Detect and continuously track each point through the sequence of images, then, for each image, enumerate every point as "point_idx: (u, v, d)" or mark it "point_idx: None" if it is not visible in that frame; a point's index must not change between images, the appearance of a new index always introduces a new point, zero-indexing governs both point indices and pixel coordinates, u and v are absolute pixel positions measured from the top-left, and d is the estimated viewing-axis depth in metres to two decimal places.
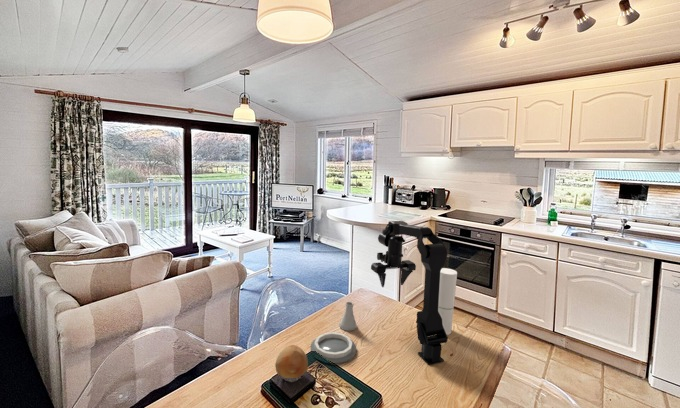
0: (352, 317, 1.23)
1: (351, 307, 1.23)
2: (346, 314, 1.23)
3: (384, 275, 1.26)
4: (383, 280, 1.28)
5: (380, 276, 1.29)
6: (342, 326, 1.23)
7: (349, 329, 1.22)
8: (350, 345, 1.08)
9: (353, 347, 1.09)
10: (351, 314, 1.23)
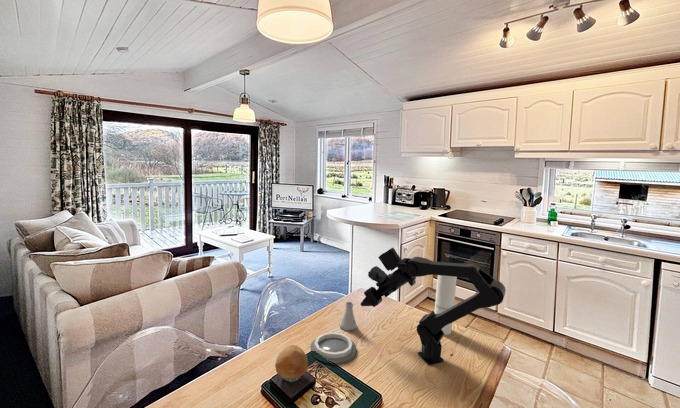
0: (352, 317, 1.23)
1: (351, 307, 1.23)
2: (346, 314, 1.23)
3: None
4: (369, 305, 1.13)
5: (367, 299, 1.13)
6: (342, 326, 1.23)
7: (349, 329, 1.22)
8: (350, 345, 1.08)
9: (353, 347, 1.09)
10: (351, 314, 1.23)
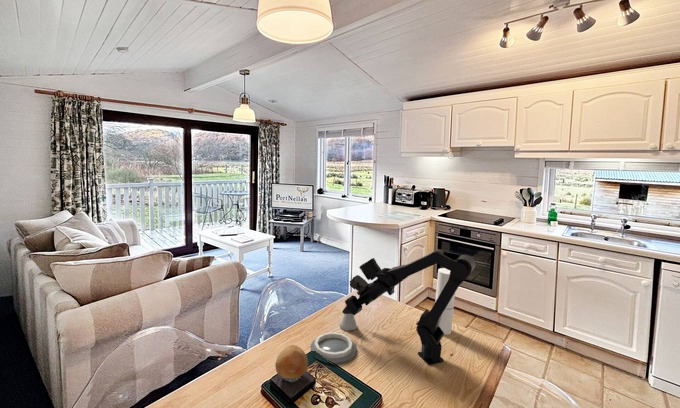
0: (352, 317, 1.23)
1: None
2: (346, 314, 1.23)
3: None
4: (350, 313, 1.18)
5: (348, 307, 1.17)
6: (342, 326, 1.23)
7: (349, 329, 1.22)
8: (350, 345, 1.08)
9: (353, 347, 1.09)
10: (351, 314, 1.23)
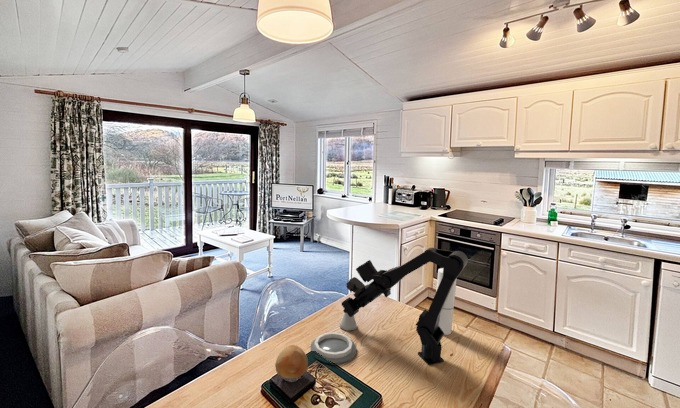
0: (352, 317, 1.23)
1: None
2: (346, 314, 1.23)
3: None
4: None
5: None
6: (342, 326, 1.23)
7: (349, 329, 1.22)
8: (350, 345, 1.08)
9: (353, 347, 1.09)
10: None
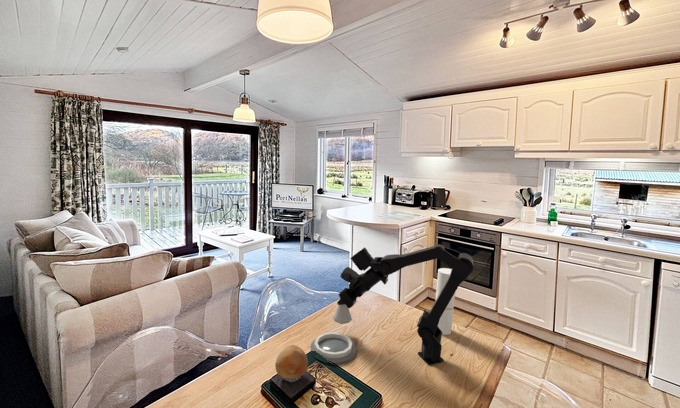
0: (347, 309, 1.18)
1: None
2: (340, 307, 1.17)
3: None
4: None
5: None
6: (337, 320, 1.17)
7: (345, 322, 1.16)
8: (350, 345, 1.08)
9: (353, 347, 1.09)
10: (346, 306, 1.18)
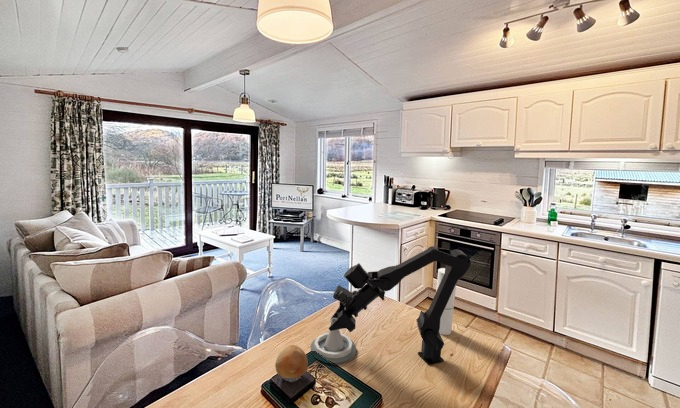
0: (339, 335, 1.08)
1: None
2: (333, 333, 1.07)
3: None
4: None
5: (338, 322, 1.03)
6: (331, 348, 1.06)
7: (339, 349, 1.07)
8: (350, 345, 1.08)
9: (353, 347, 1.09)
10: (338, 332, 1.08)
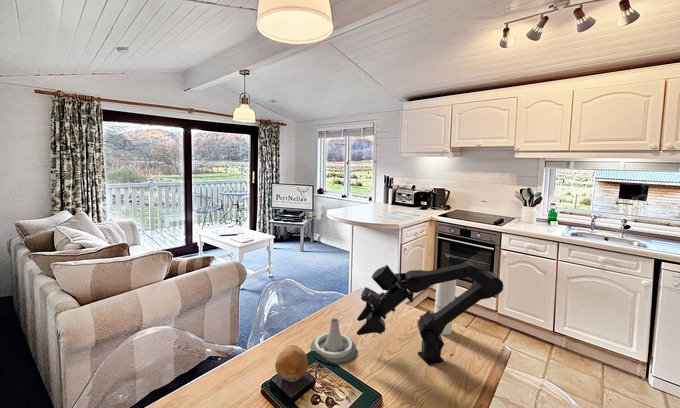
0: (339, 335, 1.08)
1: (338, 324, 1.08)
2: (333, 333, 1.07)
3: None
4: None
5: (367, 326, 1.02)
6: (331, 348, 1.06)
7: (339, 349, 1.07)
8: (350, 345, 1.08)
9: (353, 347, 1.09)
10: (338, 332, 1.08)
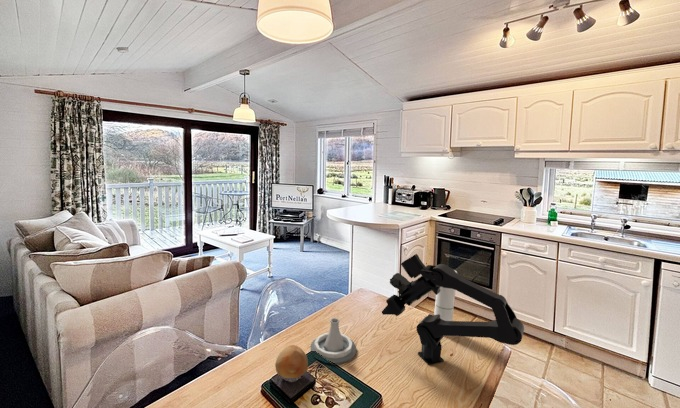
0: (339, 335, 1.08)
1: (338, 324, 1.08)
2: (333, 333, 1.07)
3: None
4: None
5: (389, 307, 1.08)
6: (331, 348, 1.06)
7: (339, 349, 1.07)
8: (350, 345, 1.08)
9: (353, 347, 1.09)
10: (338, 332, 1.08)
